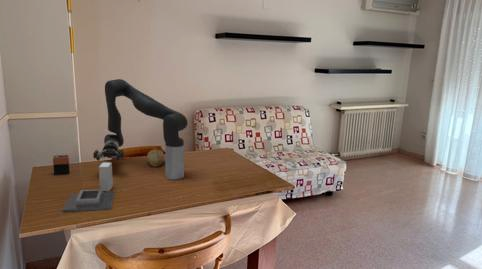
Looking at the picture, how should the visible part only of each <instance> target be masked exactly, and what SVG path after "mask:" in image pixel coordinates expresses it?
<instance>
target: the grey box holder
mask: <svg viewBox="0 0 482 269" xmlns="http://www.w3.org/2000/svg"><path fill="white" fill-rule="evenodd" d="M114 197H115V191H103V190H102V189H100V188H97V189H80V191H79V193H78V192H77V193H70V194H69V197H68V198H67V199H66V202H65V204H64V206H63V207H62V209H61V212H62V213H74V212H76V213H77V212H88V211H89V212H90V211H103V210H111V209H112V205H113V201H114Z"/></svg>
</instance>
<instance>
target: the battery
mask: <svg viewBox="0 0 482 269" xmlns="http://www.w3.org/2000/svg"><path fill="white" fill-rule="evenodd" d="M52 164H53V166H52V167H53V174H54V176H59V175H69V174H70V158H69V155H68V154H67V153H63V154H61V155H59V154H55V155H54V156H53V157H52Z"/></svg>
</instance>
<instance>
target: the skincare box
mask: <svg viewBox="0 0 482 269" xmlns="http://www.w3.org/2000/svg"><path fill="white" fill-rule="evenodd" d="M98 174H99V176H98V177H99V189H102V190H103V192H111V189H112V188H113V186H114V185H113V184H114V183H113V165H112V162H102V163H101V164H100V165H99V166H98Z"/></svg>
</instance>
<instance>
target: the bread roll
mask: <svg viewBox="0 0 482 269" xmlns="http://www.w3.org/2000/svg"><path fill="white" fill-rule="evenodd" d="M164 153H165V152H163V151H162V149H151V150H150V151H149V152H147V156H146V160H147V162H148V163H149V165H150V166H151V167H155V168H157V167H160V166H161V165H162V164H163V162H164V161H165V154H164Z"/></svg>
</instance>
